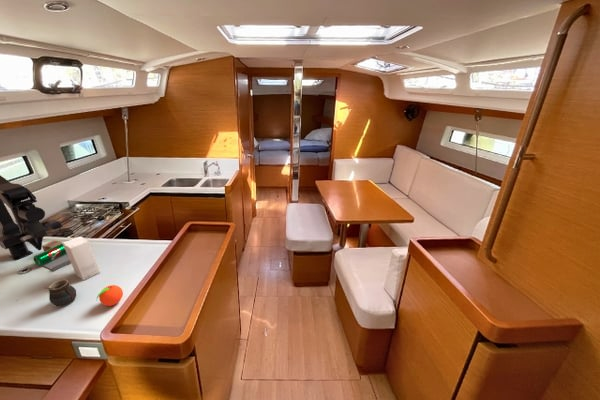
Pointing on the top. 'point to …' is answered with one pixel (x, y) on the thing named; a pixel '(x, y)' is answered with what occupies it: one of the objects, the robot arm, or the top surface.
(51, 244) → the walnut block
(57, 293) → the mate gourd
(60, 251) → the soda can
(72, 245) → the skincare box
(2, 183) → the robot arm
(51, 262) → the tray
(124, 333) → the top surface
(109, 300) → the clementine
